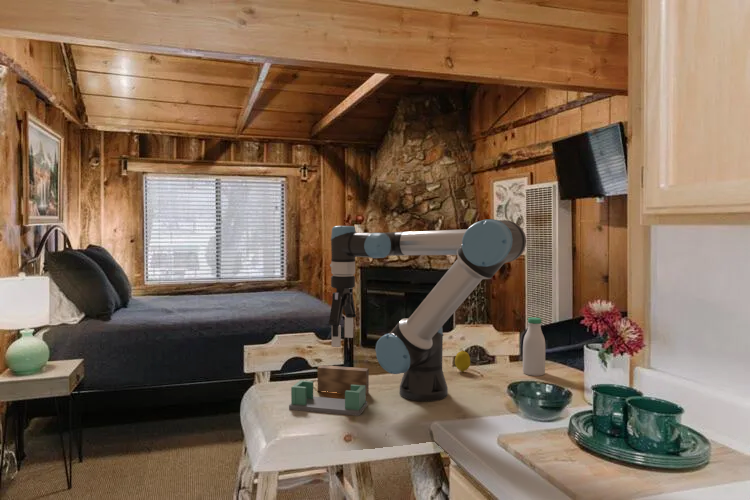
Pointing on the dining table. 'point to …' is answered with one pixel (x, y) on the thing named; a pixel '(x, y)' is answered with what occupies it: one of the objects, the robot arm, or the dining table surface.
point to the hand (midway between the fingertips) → (342, 342)
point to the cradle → (328, 400)
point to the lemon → (462, 361)
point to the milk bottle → (534, 349)
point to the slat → (341, 378)
